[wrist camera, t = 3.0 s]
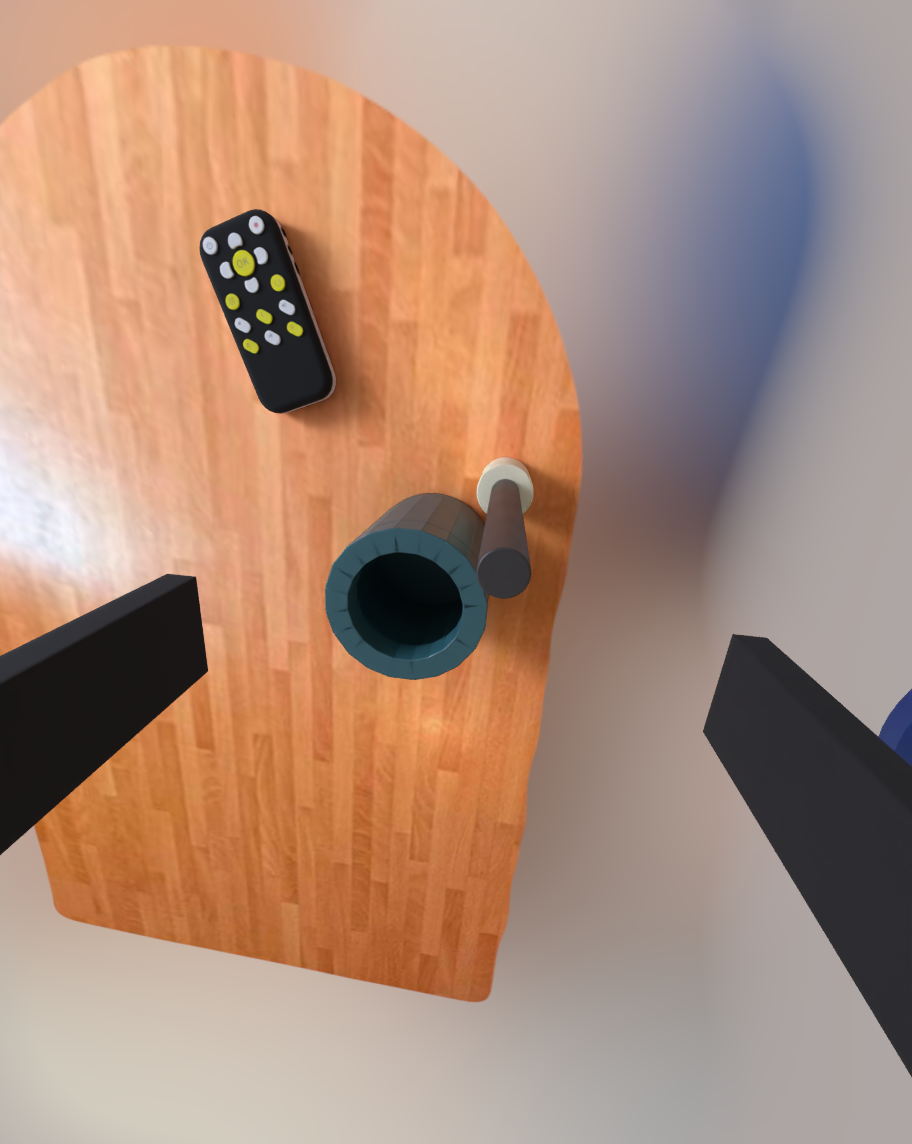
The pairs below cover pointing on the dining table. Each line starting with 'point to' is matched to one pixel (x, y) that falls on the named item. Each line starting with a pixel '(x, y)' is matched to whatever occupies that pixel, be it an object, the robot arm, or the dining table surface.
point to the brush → (504, 528)
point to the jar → (411, 589)
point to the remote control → (268, 311)
